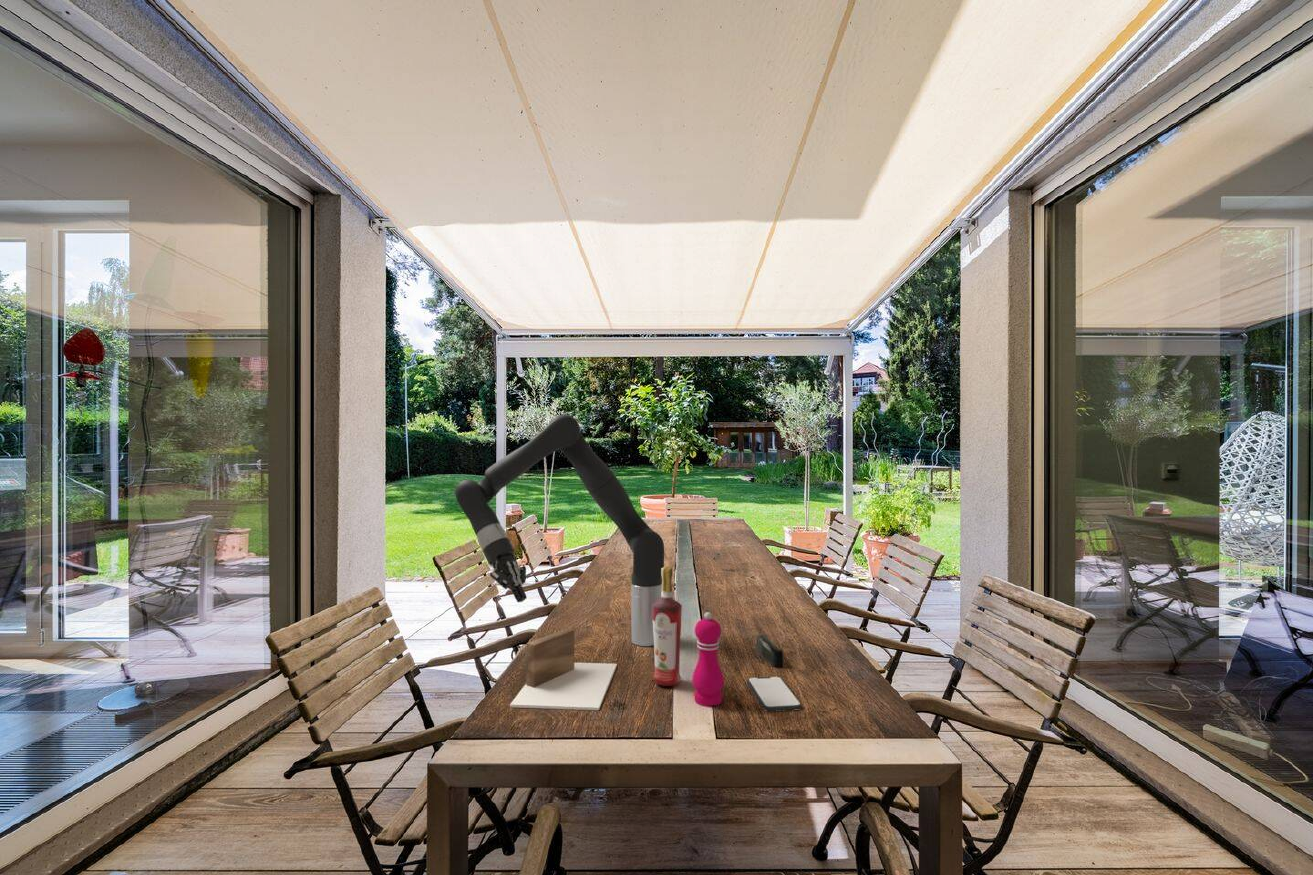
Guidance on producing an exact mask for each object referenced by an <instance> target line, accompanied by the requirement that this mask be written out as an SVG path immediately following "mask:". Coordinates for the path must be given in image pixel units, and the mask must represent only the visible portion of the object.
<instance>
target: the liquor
mask: <svg viewBox="0 0 1313 875" xmlns="http://www.w3.org/2000/svg"><path fill="white" fill-rule="evenodd" d="M661 576H662V591H661V600H659V601H656V602H655V603H654V604H653V605H652V615H653V636H654V646H653V651H654V652H653V653H654V654H653V655H654V675H653V677H652V679H653V681H655V682H656V683H657V684H658V685H659V686H660V685H661V687H664V686H671V687H674V686H676V685H677V684H678V683H679V682H680V681H681V679H682V677H681V674H680V655H681V654H680V653H681V651H680V650H681V634H682V632H681V631H682V609H683V608H682V607H683V605H682V604H681V603H680V602H678V601H677V600H675V599H674V597H673V587H672V580H673V579H672V578H673V567H670V566H669V567H666V566H664V568H661Z"/></svg>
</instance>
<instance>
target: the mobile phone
mask: <svg viewBox="0 0 1313 875" xmlns="http://www.w3.org/2000/svg"><path fill="white" fill-rule="evenodd" d="M753 649H754V650H755V651H756V652H758V653H759V654H760V655H761V656H762V657H763V658H764V659H765V660H766V661H767V662H768V664H770V665H771V666H772V667H774V668H782V667H783V666H784V653H783V649H780V647H778V646H777V645H776V644H775V643H774V642H773V641H772V640H771V638H769V637H768V636H767V635H764V634H763V635H762V634H761V635H757V636H756V646H753Z"/></svg>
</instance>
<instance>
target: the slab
mask: <svg viewBox="0 0 1313 875" xmlns="http://www.w3.org/2000/svg"><path fill="white" fill-rule="evenodd" d="M525 646H526V648H525V649H526V652H525V653H526V656H525V657H526V660H525V661H526V662H525V663H526V665H525V666H526V668H525V669H526V670H525V671H526V672H525V673H526V674H525V675H526V676H525V677H526V678H525V679H526V680H525V684H526V685H527V686H530V687H533V688H534V687H537V686H539V685H541V684H543V683H545V682H547V681H550V680H552V679H554V678H556V677H558V676H561V675H563V674H565V673H567V672H569V671H572V670H574V663H575V630H574V629H570V628H565V629H562V630H560V631H559V630H558V631H557V632H553V633H551V634H548V635H546V636H543V637H540V638H538V639H534V640H532V641H528V642H526V645H525Z"/></svg>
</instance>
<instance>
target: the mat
mask: <svg viewBox="0 0 1313 875" xmlns="http://www.w3.org/2000/svg"><path fill="white" fill-rule="evenodd" d="M617 666H618V664H617V663H603V662H602V663H601V662H574V670H572V671H569V672H567V673H565V674H563V675H561V676H558V677H556V678H554V679H552V680H550V681H547V682H545V683H543V684H541V685H539V686H537V687H534V688H533V687H530V686H527V685H526V683H525V684H524V685H523V686H522V688H521V690H520V691H519V692H518V693H517V695H516V696H515V698H513V700H512V702H511V703H510V704H509V708H516V709H517V708H519V709H520V708H523V709H543V710H544V709H550V710H572V709H573V710H577V711H599V710H600V709H601V705H602V704H603V701H604V698H605V697H606V694H607V691H608V689H609V687H610V684H611V682H612V678H613V676H614V674H615V671H616V670H617Z"/></svg>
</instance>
